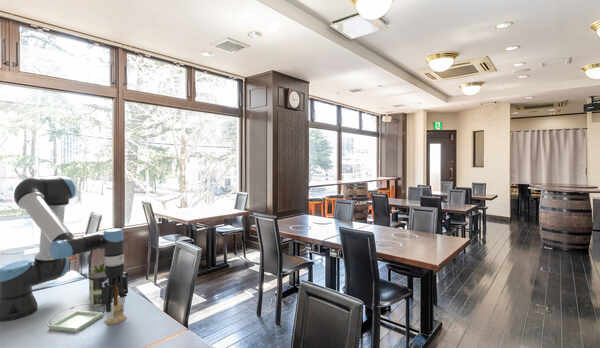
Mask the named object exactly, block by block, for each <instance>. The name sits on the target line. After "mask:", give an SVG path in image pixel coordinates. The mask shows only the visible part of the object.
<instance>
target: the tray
mask: <svg viewBox="0 0 600 348" xmlns="http://www.w3.org/2000/svg"><path fill="white" fill-rule="evenodd" d="M103 317H104V312H102V311H101V312H99V311H91V310H89V311H88V310H81V309H80V310H79V309H77V310H75V311H73V312H72V313H71V312H70V314H68V315H66V316H65V317H64V316H63V318H60V319H59V320H57V321H55V322H53V323H52V324H51V323H50V324H49V325H48V330H49V331H57V332H69V333H75V334H76V333H79V332H81V331H82V330H83V329H85V328H87V327H88V326H90V325H91V324H93V323H95V322H96V321H98V320H99V319H101V318H103Z"/></svg>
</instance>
